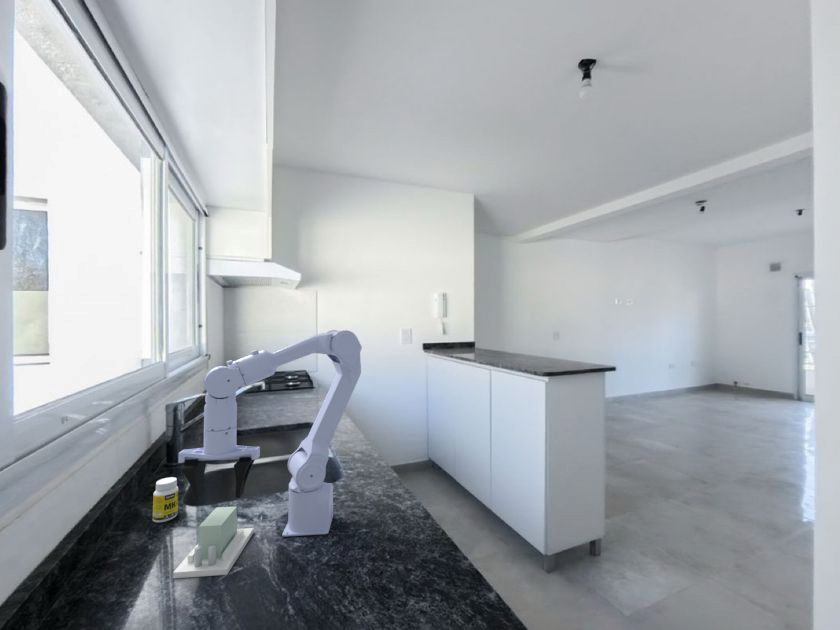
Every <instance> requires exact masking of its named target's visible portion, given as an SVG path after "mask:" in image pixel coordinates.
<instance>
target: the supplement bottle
mask: <svg viewBox="0 0 840 630" xmlns="http://www.w3.org/2000/svg"><path fill="white" fill-rule="evenodd" d="M152 498H153V500H152V504H153V505H152V522H154V523H165V522H168V521H171V520H173V519H174V518H176V517H177V515H178V513H179V512H178V511H179V486H178V479H177V477H173V476H170V477H165V478H160V479H158V480H157V481H156V483H155V491H154V492H153V497H152Z"/></svg>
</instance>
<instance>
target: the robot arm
mask: <svg viewBox="0 0 840 630" xmlns="http://www.w3.org/2000/svg"><path fill="white" fill-rule="evenodd" d="M362 347H363V346H362V344H361V343H360V341H359V339H358V337H357V335H356V334H355V332H352V331H350V330H348V329H345V330H335V329H333V330H329V331H327V332H322V333H318V334H317V333H316V334H314V335H311V336H308V337H306V338H304V339H302V340H300V341H299V340H298V341H296V342H294V343H292V344H290V345H287V346H286V347H283V348H280V349H279V350H276V351H274V352H270V351H267V350H263V349H262V350H260V351H258V349H255V350H254V349H253V350H252V351H250V355H247V356H246V355H245V356H244V357H241V358H239V359H236V360H234V361H233V360H232V359H231V360H227V361H226V362H225V363H226V365H227V366H224V365H219V366H215V367H213V368H212V369H210V370H209V371H208V372H207V373H206V375H205V377H204V380H203V384H204V389H205V390H206V393H205V397H204V402H205V404H204V406H203V409H204V412H203V447H197V448H188V449H182V450H181V451H180V452H178V463H179V464H181V463H182V464H183V465H182V466H181V467H180V470H181V472H182V474H183V475H184V476H185V478H186V479H187V481H188V484H189V485H190V488H191V492H192V496H193V500H194V501H199V500H200V499H201V498H202V497H203V496H204V490H205V470H206V464H207V461H223V460H224V461H225V460H228V461H229V460H237V461H236V462H235V463H234V464H233V468H234V475H235V499H240V498H241V497H242V495H243V494H244V493H245V488H246V487H245V486H246V483H247V479H248V476H249V473H250V471H251V469H252V468H253V467H252V466H253V464H254V462H255V461H256V460H258V459H259V458H260V456H261V448H260V447H261V446H247V445H237V440H238V439H237V432H238V431H237V428H238V426H237V425H238V421H237V420H238V402H237V399H236V398H237V391H238V389H239V388H245V387H249V386H250V385H253V384H255V383H257V382H260V381H262V380H265V379H267V378H270V377H271V376H274V375H275V373H276V371H277V369H278V367H281V366H283V365H286V364H288V363H291V362H293V361H296V360H299V359H302V358H304V357H307V356H310V355H312V354H321V355H326V356H327V357H328V358H329V359H330V360H331V362H332V364H333V366H334V369H335V371H336V374H335V376H334V378H333V381H332V382H331V385H330V387H329V389H328V392H327V393H326V396H325V398H324V401H323V402H322V404H321V407H320V409H319V411H318V414H317V415H316V418H315V419H314V422H313V424H312V426H311V428H310V431H309V433H308V435H307V436H306V437H305V438H304V439H303V440H301V442H300V444H299V446H298V448H297V449H296V450H295V451H294V452H292V454H290V456H289V458H288V460H287V470H288V471H289V473H290V474H291V476H292V477H291V479H290V482H289V483H288V509H287V510H288V516H287V517H288V520H287V523H286V526H285V528H284V530H283V532H282V537H296V536H297V537H298V536H301V537H302V536H315V535H327V534H329V531H330V529H331V524H332V522H333V518H334V485H333V483H330V482H325V479H326V474H327V472H326V471H327V467H326V466H327V464H328V461H329V460H330V459H329V457H330V456H329V455H330V451H329V450H330V449H329V446H330V445H331V442H332V440H333V437H334V436H335V435H334V434H335V433H336V431H337V428H338V426H339V424H340V421H341V419H342V417H343V415H344V412H345V410H346V408H347V406H348V404H349V401H350V399H351V396H352V395H353V393H354V390H355V388H356V386H357V383H358V381H359V379H360V377H361V374H362V367H361V366H362V365H361V364H362V361H361V351H362Z"/></svg>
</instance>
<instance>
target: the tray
mask: <svg viewBox="0 0 840 630" xmlns="http://www.w3.org/2000/svg"><path fill="white" fill-rule="evenodd" d="M238 519H239V518H238V517H237V523H236V535H235V537H234V538H233V540H232V541H231V542H230V544H229V545H228V547H227V548H226V549H225V551H224V552H223V554H222V557H221V558H216V545H212V546H210V547H209V553H208V559H202V546H198V543H197V544H196V545H195V546H194V547H193V549H192V550H191V551H190V552H189V553H188V554H187V555H186V557H185V558H184V559H183V560H182V562H180V564H179V565H178V566H177V568H175V569H174V571H173V573H172V579H183V578H184V579H185V578H198V577H200V578H201V577H213V576H214V577H215V576H227V575H228V574H229V573H230V570H231V569H232V568H233V567H234V564H235V563H236V561H237V560H238V558H239V557H240V555H241V553H242V552H243V550H244V548H245V547H246V545H247V544H248V543H249V541H250V539H251V537H252V536H253V534H254V529H255V528H254V527H245V528H238V526H239V525H238V523H239V521H238Z"/></svg>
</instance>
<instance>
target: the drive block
mask: <svg viewBox="0 0 840 630" xmlns="http://www.w3.org/2000/svg"><path fill="white" fill-rule="evenodd" d="M237 508H238V506H220V507H218V506H217V507H215V508H214V509H213V511H211V513H209V515H208V516H207V517H206V518H205V519H204V520H203V521H202V522H201V523H200V524H199V526H198V532H197V533H198V534H197V535H198V536H197V537H198V538H197V540H198V541H197V544H198V546H202V559H208V553H209V547H210V546H212V545H216V558H221V557H222V554H223V552H224V551H225V549H226V548H227V547H228V545H229V544H230V542H231V541H232V540H233V538H234V537H235V535H236V523H237V518H238V517H237V515H238V513H237V511H238V509H237Z"/></svg>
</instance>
